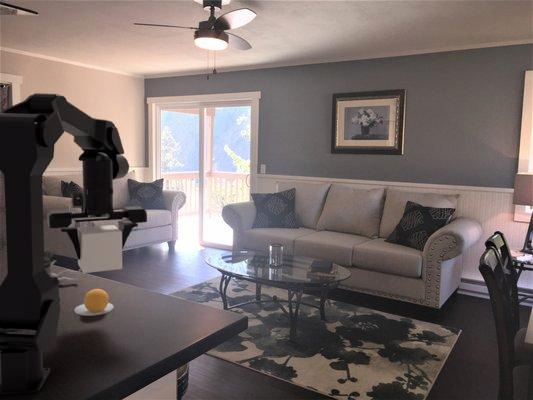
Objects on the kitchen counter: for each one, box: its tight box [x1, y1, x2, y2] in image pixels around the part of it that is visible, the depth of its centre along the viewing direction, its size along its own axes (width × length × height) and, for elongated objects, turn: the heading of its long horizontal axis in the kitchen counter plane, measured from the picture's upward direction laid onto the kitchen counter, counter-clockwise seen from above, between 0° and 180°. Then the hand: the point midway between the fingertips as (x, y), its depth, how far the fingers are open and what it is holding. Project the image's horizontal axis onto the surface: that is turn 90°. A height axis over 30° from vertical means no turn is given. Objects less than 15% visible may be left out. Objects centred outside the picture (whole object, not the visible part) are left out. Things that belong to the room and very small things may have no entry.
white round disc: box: [73, 302, 114, 317], centre depth 96 cm, size 8×8×1 cm
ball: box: [83, 288, 110, 312], centre depth 94 cm, size 5×5×5 cm
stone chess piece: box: [44, 244, 57, 277], centre depth 105 cm, size 6×6×12 cm
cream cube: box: [76, 224, 123, 274], centre depth 90 cm, size 8×8×8 cm
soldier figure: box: [51, 260, 82, 284], centre depth 111 cm, size 8×5×12 cm
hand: (99, 257), depth 91 cm, fingers closed on cream cube, 7 cm apart
